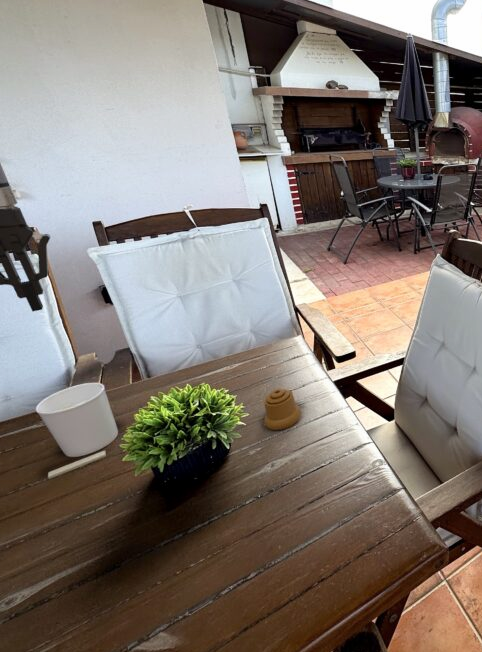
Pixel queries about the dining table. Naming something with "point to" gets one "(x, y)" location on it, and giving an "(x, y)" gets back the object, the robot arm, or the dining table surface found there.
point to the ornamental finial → (281, 410)
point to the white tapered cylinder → (79, 419)
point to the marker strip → (76, 464)
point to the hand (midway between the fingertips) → (37, 308)
